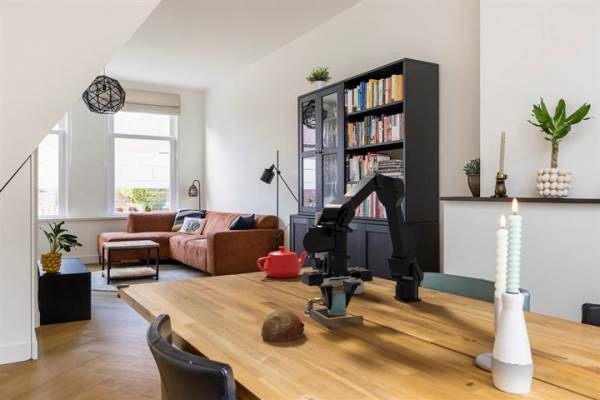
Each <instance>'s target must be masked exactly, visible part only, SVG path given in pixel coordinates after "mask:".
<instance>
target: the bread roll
mask: <svg viewBox="0 0 600 400" xmlns="http://www.w3.org/2000/svg"><path fill="white" fill-rule="evenodd" d="M260 333H261V334H260V335H261V336H262V337H263V339H264V340H265V341H268V342H271V343H272V342H273V343H274V342H275V343H286V342H295V341H297V340H300V339H301V338H302V337H303V335H304V333H305V324H304V322H303V320H302V318H300V317H299V316H298V315H297V314H296V313H294V312H292V311H289V310H287V309H286V310H284V309H276V310H274V311H271V312H270V313H269V314H268V315H267V316H266V318H265V319H264V320H263V323H262V326H261V332H260Z"/></svg>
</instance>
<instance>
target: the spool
mask: <svg viewBox="0 0 600 400" xmlns="http://www.w3.org/2000/svg"><path fill="white" fill-rule="evenodd" d="M328 314H330V315H329V316H337V317H338V316H345V315H347V314H348V311H347V308H346V292H344V290H342V291H341V290H332V306H331V310H328Z"/></svg>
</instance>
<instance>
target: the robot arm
mask: <svg viewBox="0 0 600 400" xmlns="http://www.w3.org/2000/svg"><path fill="white" fill-rule="evenodd" d="M405 188H406V187H405V183H404V180H403V179H401V178H400V177H392V176H389V175H384V174H382V173H380V172H369V173H365V174H364V175H363V177H362V179H360V180H359V182H357V183H355V185H354V186H353V187H351V189H349V190H348V192H347V193H345V194H344V195H343V196H341V197H340V198H339V197H338V198H336V199H334V200H331V201H329V202H328V203H326V204H325V206H324V207H323V208H322V211H321V212H322V214H321V216H320V218H319V220H318V222H317V224H316V226H309V227H308V231H307V232H306V233H305V235H304V236H303V239H302V245H303V249H304V250H305V251H306V252H307V254H308V255H309V254H310V255H313V254H314V255H315V254H316V253H323V252H327V253H325V255H324V260H320V258H315V257H312V258H311V269H312V271H304V272H303V273H302V274H301V276H300V277H301V279H300V280H301V284H303V285H306V286H308V287H317V288H319V289H320V291H321V293H322V294H323V296H324V299H325V302H326V305H325V306H326V308H328V310H331V306H332V291H333V287H332V286H331V285H329V281H333V280H342V286H344V288H343V292H346V309H347V308H348V306H349V304H350V302H351V300H352V297H353V295H355V294H354V292H355V290H356V289H357V287H358V286H359V285H361V283H359V282H358V280H359V278H360V279H361V280H362V281H363V282H364V283H365V282H367V283H368V282H373V280H374V279H373V278H374V277H373V273H372V271H371V269H366V268H365V267H364V268H363V267H355V268H356V269H351V271H349V270H348V268H349V260H351V254H349V234H351V233H354V230H353V229H352V227H351V226H349V225H350V223H351V222H352V221H353V219H354V217H356V215H357V214H356V213H357V208H359V206H361V204H363V202H365V201H366V200H367V198H368V197H370V195H372V193H373V192H375V194H376V197H377V200H378V202H380V204H381V205H382V206H383V208H384V209H385V215H386V219H387V226H388V232H389V236H390V237H389V238H390V241H391V247H392V252H391V255H390V257H388V258H387V262H388V269H389V270H390V275H391V278H392V280H396V284H395V285H394V287H395V288H394V289H395V292H394V293H395V295H394V296H393V299H395V300H398V301H402V302H404V303H407V302H408V303H409V302H419V301H420V302H421V301H422V298H421V297H419V291H420V289H419V285H420V284H419V283H422V282H423V281H424V277H425V274H424V272H423V270H422V269H421V268H420V265H419V263H418V261H417V256H416V254H414V252H413V251H412V250H411V249H410V247H409V241H408V236H407V231H406V224H405V219H404V213H403V208H402V206H403V205H402V203H403V201H404V199H405V197H406V193H405ZM315 270H318V272H319V273H318V272H316V271H315ZM323 273H327V274H323ZM340 276H341V277H340Z"/></svg>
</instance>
